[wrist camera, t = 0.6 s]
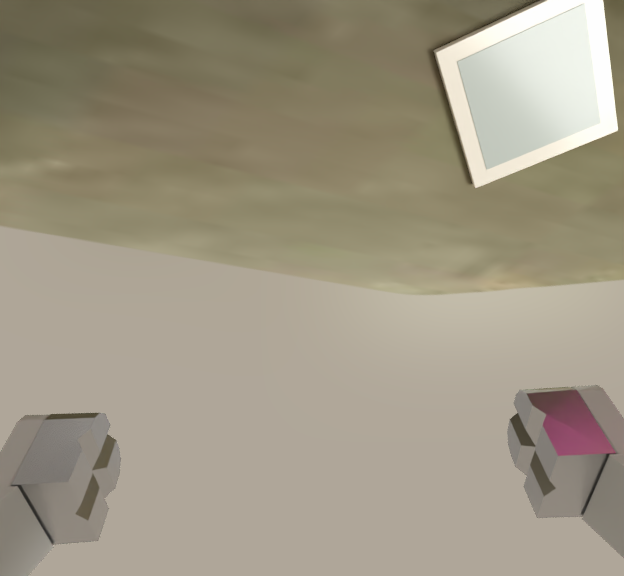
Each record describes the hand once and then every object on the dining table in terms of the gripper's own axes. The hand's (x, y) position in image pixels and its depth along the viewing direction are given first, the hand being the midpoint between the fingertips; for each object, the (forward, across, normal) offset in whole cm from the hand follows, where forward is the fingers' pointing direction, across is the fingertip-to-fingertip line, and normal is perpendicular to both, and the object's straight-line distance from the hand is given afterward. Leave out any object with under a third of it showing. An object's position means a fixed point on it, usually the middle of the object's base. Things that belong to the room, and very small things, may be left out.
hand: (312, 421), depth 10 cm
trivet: (+43, -21, +5) cm, 48 cm away
